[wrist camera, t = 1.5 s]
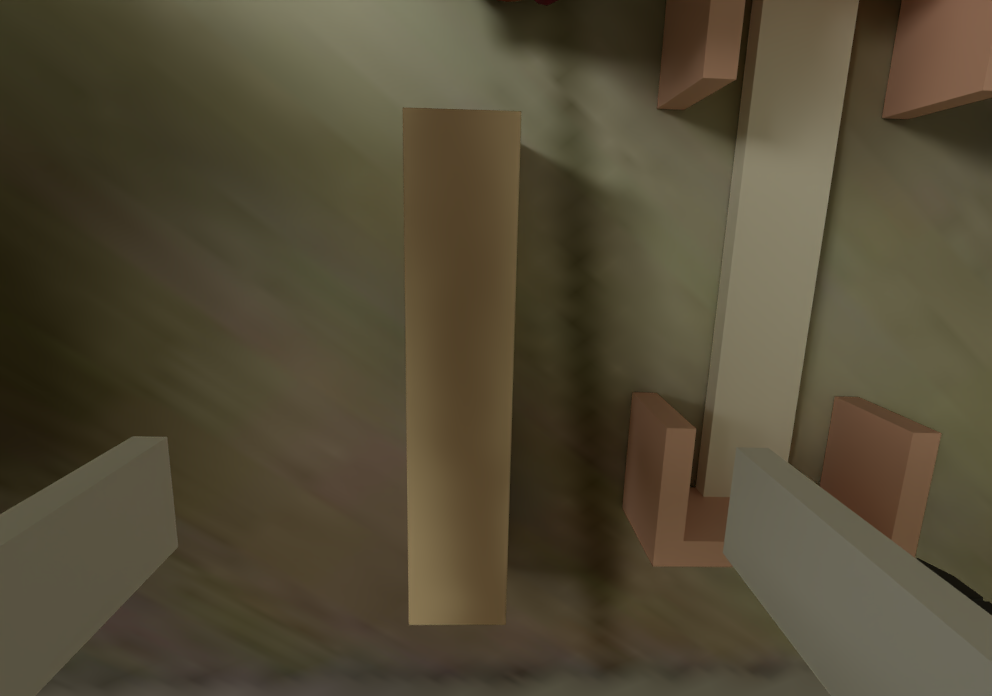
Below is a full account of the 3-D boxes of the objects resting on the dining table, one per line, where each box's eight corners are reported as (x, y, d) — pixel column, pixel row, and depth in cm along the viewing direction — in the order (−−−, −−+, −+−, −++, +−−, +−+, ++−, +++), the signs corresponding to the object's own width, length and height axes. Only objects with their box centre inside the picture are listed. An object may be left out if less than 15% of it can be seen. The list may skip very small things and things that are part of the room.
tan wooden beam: (422, 543, 28) (408, 625, 23) (420, 137, 24) (402, 107, 18) (499, 543, 29) (505, 624, 23) (510, 139, 24) (521, 111, 19)
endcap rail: (622, 508, 28) (652, 566, 23) (670, -51, 23) (723, -127, 18) (838, 510, 29) (912, 568, 24) (935, -37, 23) (1057, -107, 18)
